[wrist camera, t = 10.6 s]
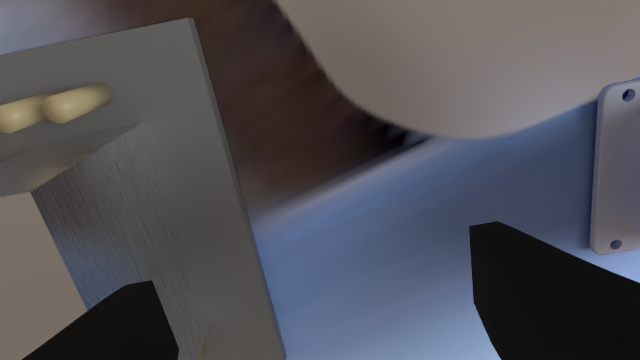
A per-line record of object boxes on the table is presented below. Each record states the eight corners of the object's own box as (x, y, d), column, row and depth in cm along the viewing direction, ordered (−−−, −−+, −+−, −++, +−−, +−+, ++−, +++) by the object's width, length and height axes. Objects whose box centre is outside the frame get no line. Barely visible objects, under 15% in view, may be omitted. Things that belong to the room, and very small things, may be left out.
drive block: (140, 124, 17) (30, 191, 10) (210, 321, 20) (162, 466, 14) (45, 142, 17) (-122, 220, 10) (131, 335, 20) (46, 483, 14)
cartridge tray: (193, 17, 16) (159, 17, 12) (286, 355, 22) (281, 420, 19) (-51, 66, 16) (-150, 80, 13) (105, 384, 23) (67, 452, 19)
